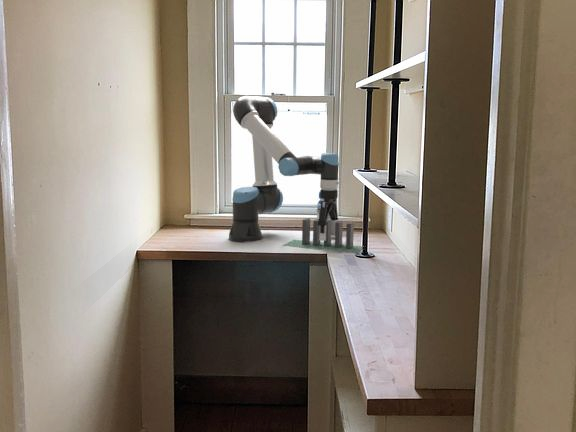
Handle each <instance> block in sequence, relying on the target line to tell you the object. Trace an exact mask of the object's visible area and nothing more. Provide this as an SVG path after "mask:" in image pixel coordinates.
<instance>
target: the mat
mask: <svg viewBox="0 0 576 432" xmlns="http://www.w3.org/2000/svg"><path fill="white" fill-rule="evenodd" d="M282 246H283V247H291V248H302V249H308V250H309V249H312V250H319V251H331V252H339V253H349V254H356V255H357V254H360V253H361V252H362V251H363V250H362V245H353V247H352V248H351V249H346V244H343V243H342V246H341V247H340V248H335V242H334V243H332V242H331V245H330V246H328V247H324V241H323V242H321V241H320V244H319V245H317V246H313V240H312V241H311V240H310V243H308V244H306V245H303V244H302V239H301V240H300V239H292V240H290V241H288V242H286V243H285V244H283V245H282Z"/></svg>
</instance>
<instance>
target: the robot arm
mask: <svg viewBox="0 0 576 432" xmlns="http://www.w3.org/2000/svg"><path fill="white" fill-rule="evenodd" d="M232 113H233V116H234V119H235V121H236V122H237V123H238V125H239V126H240V127H241V128H242V129H246V130H247V131H248V132H249V133H250V134H251V136H252V137H251V139H252V151H253V154H252V155H253V163H254V164H253V165H254V167H253V168H254V179H255V182H254V183H253V184H252V186H246V187H245V186H244V187H238V188H236V189H234V191H233V193H232V223H231V227H230V230H229V234H228V240H229V241H233V242H238V243H246V242H251V243H252V242H257V241H261V240H263V233H262V229H261V226H260V224H259V215H263V214H267V213H268V214H271V213H273V212H276V211H278V210H279V209H280V208H281V207H282V205H283V200H284V196H283V193H282V191H281V189H280V188H278V183H277V182H276V181H275V179H274V169H273V168H274V166H273V160H274V161H275V162H276V163H277V164H278V166H277V167H278V171H279V173H280V174H281V175H282V176H283V177H295V176H302V175H318V176H319V175H320V183H319V184H320V185H319V186H320V188H319V189H320V191H319V192H320V198H322V199H324V202H321V209H320V215H319V220H318V225H320V237H319V240H320V242H321V241H323V242H324V241H326V221H327V218H328V214H329V215H330V219H331V220H332V233H331V236H335V223H336V222H337V221H339V216H338V208H337V199H338V195H339V194H338V188H339V184H340V182H339V165H340V162H339V161H340V160H339V155H338V153H336V152H335V153H334V152H322V153H321V154H320V155H321V156H311V155H302V156H300V157H299V156H298V157H297V156H296V155H295V154H294V153H293V152H292V151H291V150H290V149H289V148H288V147H287V146H286V144H284V143H283V142H282V140H280V138H279V137H278V136H277V134H275V133H274V131H272V130H271V128H272V127H273V126H274V121H275V120H276V117H278V108H277V104H276V103H275V101H274V100H273V99H272V98H270V97H265V96H253V95H252V96H251V95H250V96H249V95H244V96H241V97H239V98H238V99H236V101H235V102H234V104H233V108H232Z"/></svg>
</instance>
